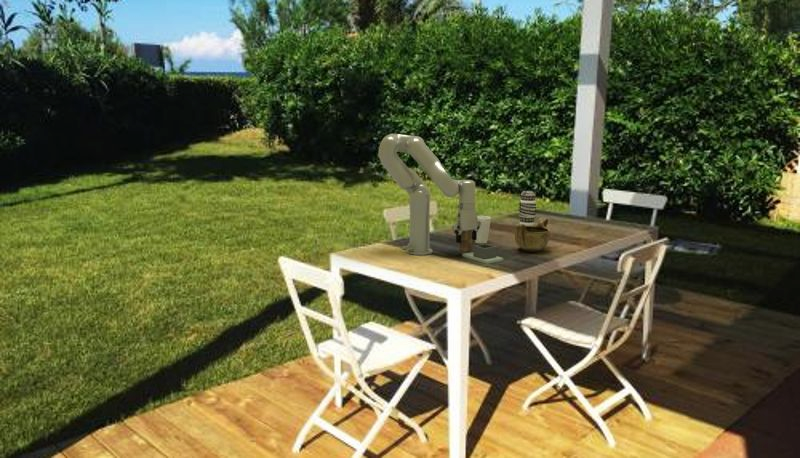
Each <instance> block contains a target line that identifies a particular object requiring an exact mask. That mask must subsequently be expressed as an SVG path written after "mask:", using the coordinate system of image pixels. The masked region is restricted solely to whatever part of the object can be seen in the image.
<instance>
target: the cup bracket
mask: <svg viewBox="0 0 800 458" xmlns="http://www.w3.org/2000/svg"><path fill="white" fill-rule="evenodd" d="M472 248H473V249H472V250H473V251H472V252H470V253H465V254H462V257H464V258H466V259H470V260H474V261H476V262H480V263H483V264H493V263H497V262H499V263H500V262H503V261H504V257H500V256H498V255H497V251H498V250H497V249H498V247H497V246H496V245H493V244H489V243H480V244H477V245H476V244H475V245H472Z"/></svg>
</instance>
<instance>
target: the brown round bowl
mask: <svg viewBox="0 0 800 458" xmlns="http://www.w3.org/2000/svg"><path fill="white" fill-rule="evenodd" d="M548 224H549V219H548V218H546V217H540V218H539V219H538V222H537V224H536V225H535V226H525V225H524V224H520V222H519V223H516V225H515V231H514V238H515V243H516V245H517V246H518V248H520V249H522V250H523V251H525V252H529V253H530V252H531V253H533V252H539V251H541V250H543V249H545V248H546V247H547V246H548V243H549V241H550V228H548V227H547V226H548Z"/></svg>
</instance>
